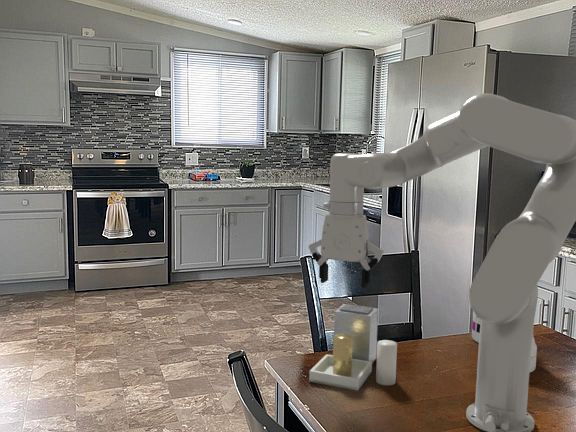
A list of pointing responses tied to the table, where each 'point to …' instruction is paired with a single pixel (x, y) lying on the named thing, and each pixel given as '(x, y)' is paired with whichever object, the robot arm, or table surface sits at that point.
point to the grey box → (358, 329)
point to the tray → (325, 375)
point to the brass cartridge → (342, 354)
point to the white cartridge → (386, 362)
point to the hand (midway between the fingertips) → (344, 284)
